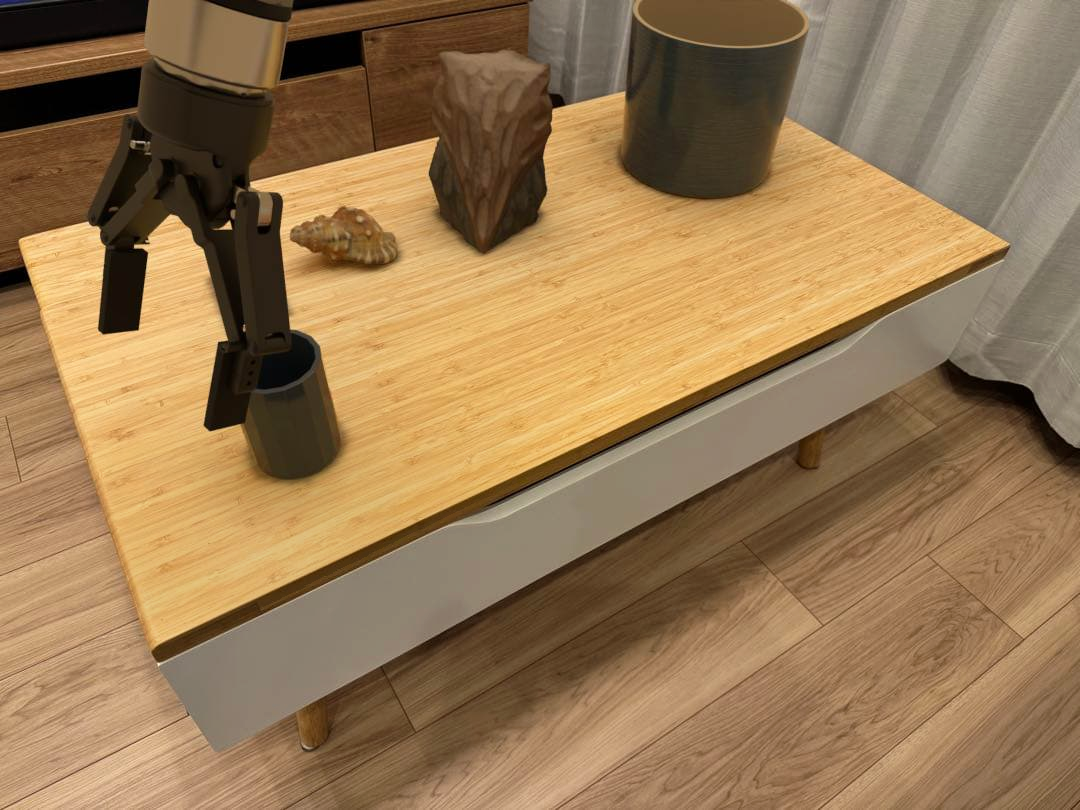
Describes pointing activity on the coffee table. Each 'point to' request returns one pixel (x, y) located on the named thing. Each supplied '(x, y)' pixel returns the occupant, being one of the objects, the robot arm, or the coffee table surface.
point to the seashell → (347, 237)
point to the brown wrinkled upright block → (490, 143)
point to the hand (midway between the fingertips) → (168, 375)
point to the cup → (292, 413)
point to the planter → (708, 92)
